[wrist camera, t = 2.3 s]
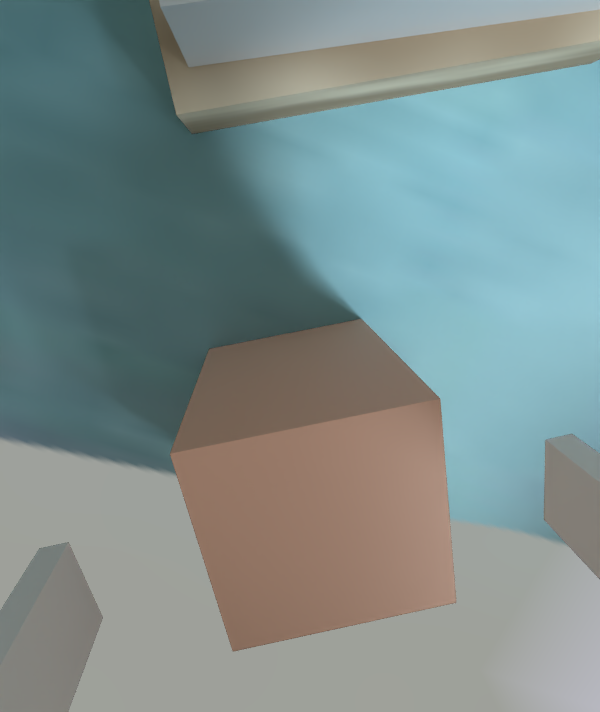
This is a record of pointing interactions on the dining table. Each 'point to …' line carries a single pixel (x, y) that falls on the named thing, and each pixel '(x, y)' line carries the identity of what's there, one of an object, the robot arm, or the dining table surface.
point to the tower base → (369, 69)
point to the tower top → (332, 22)
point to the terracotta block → (315, 484)
